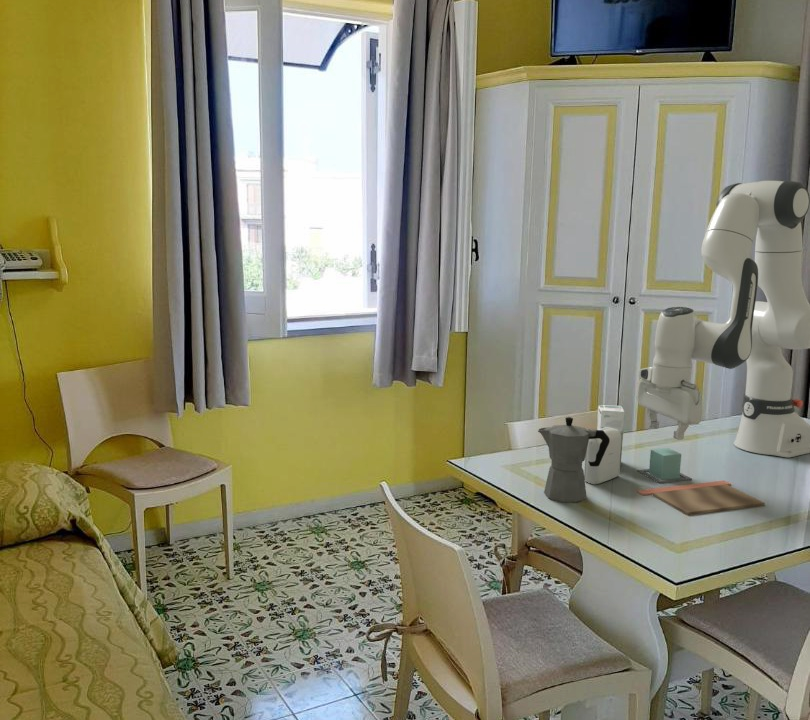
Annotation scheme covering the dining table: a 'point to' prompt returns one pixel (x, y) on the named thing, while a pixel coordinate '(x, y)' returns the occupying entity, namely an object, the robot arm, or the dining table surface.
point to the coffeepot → (569, 459)
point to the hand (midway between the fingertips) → (665, 433)
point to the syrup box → (611, 419)
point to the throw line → (682, 487)
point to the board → (708, 499)
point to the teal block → (665, 463)
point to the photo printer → (609, 461)
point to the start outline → (665, 480)
